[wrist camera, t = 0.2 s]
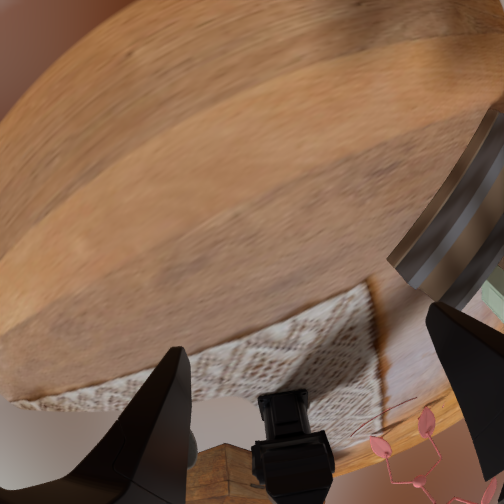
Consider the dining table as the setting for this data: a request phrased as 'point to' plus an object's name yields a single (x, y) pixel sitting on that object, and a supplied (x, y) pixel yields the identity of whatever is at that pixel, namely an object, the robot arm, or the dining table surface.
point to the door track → (460, 224)
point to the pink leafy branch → (426, 430)
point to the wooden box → (224, 478)
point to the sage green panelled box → (495, 292)
